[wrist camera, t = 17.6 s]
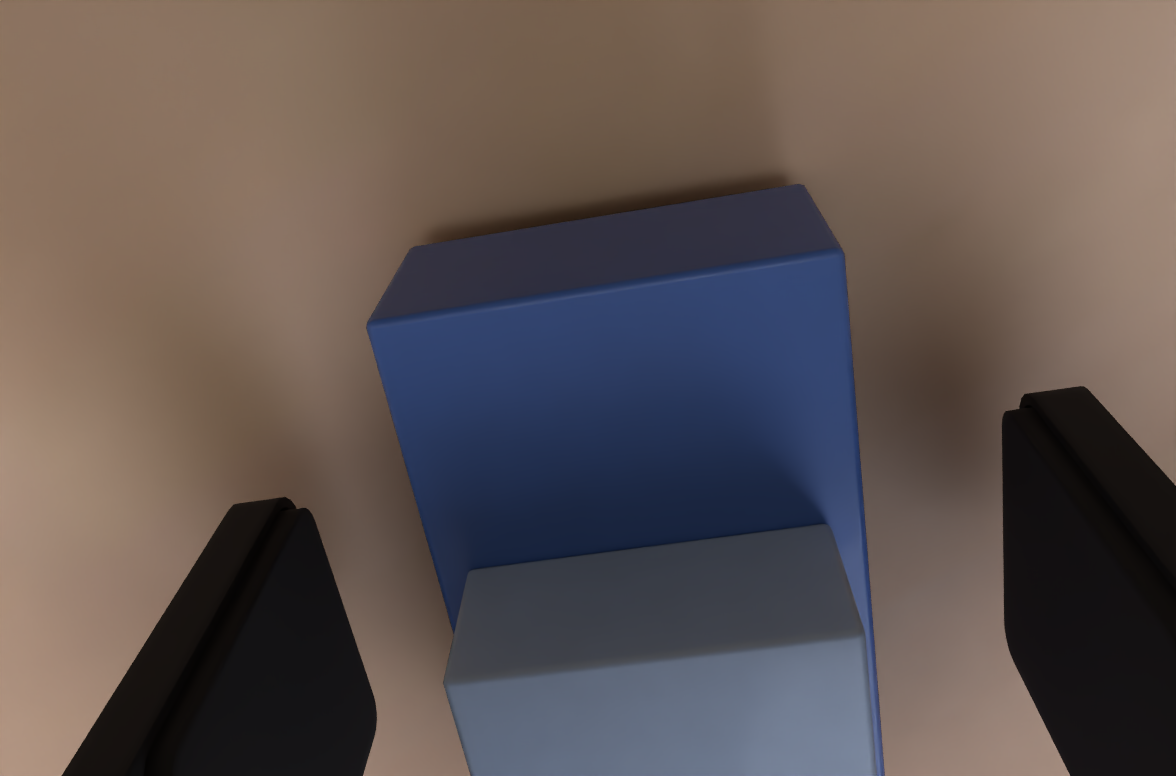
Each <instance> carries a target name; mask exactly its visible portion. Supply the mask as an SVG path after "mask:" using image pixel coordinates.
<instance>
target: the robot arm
mask: <svg viewBox="0 0 1176 776" xmlns="http://www.w3.org/2000/svg"><path fill="white" fill-rule="evenodd" d="M1002 471H1003V557H1004V625H1005V633H1006V639H1007V643H1008V647H1009V651H1010V654H1011V656H1012V659H1013V661H1014V663H1015V665H1016V667H1017V669H1018V671H1019V673H1020V675H1021V677H1022V679H1023V681H1024V683H1025V685H1026V687H1027V689H1028V691H1029V693H1030V695H1031V697H1032V699H1033V701H1034V703H1035V706H1036V708H1037V710H1038V712H1039V714H1040V716H1041V718H1042V720H1043V722H1044V724H1045V726H1046V728H1047V730H1048V732H1049V734H1050V736H1051V738H1052V740H1053V742H1054V744H1055V746H1056V748H1057V750H1058V752H1059V754H1060V756H1061V758H1062V760H1063V762H1064V764H1065V766H1066V768H1067V770H1068V772H1069V774H1070V776H1176V486H1175V485H1174V483H1173V482H1172V481H1171V480H1170V479H1169V478H1168V477H1167V476H1166V475H1165V474H1164V472H1163V471H1162V470H1161V469H1160V468H1159V467H1158V466H1157V465H1156V464H1155V462H1154V461H1153V460H1152V459H1151V458H1150V457H1149V456H1148V455H1147V454H1146V453H1145V451H1144V450H1143V449H1142V448H1141V447H1140V446H1139V445H1138V444H1137V443H1136V442H1135V440H1134V439H1133V438H1132V437H1131V436H1130V435H1129V434H1128V433H1127V432H1126V431H1125V429H1124V428H1123V427H1122V426H1121V425H1120V424H1119V423H1118V422H1117V421H1116V420H1115V418H1114V417H1113V416H1112V415H1111V414H1110V413H1109V412H1108V411H1107V410H1106V409H1105V407H1104V406H1103V405H1102V404H1101V403H1100V402H1099V401H1098V400H1097V399H1096V398H1095V396H1094V395H1093V394H1092V393H1091V392H1090V391H1089V390H1088V389H1087V388H1085V387H1084V386H1080V387H1072V388H1065V389H1058V390H1051V391H1043V392H1036V393H1029V394H1024V395H1023V397H1022V398H1021V402H1020V406H1019V409H1016V410H1009V411H1005V413H1004V415H1003V419H1002ZM376 724H377V711H376V703H375V699H374V695H373V692H372V689H371V686H370V683H369V680H368V677H367V674H366V671H365V668H364V665H363V662H362V659H361V656H360V653H359V651H358V648H357V645H356V642H355V639H354V636H353V633H352V630H351V627H350V624H349V621H348V618H347V615H346V612H345V609H344V606H343V603H342V600H341V597H340V594H339V591H338V588H337V585H336V582H335V579H334V576H333V573H332V570H331V567H330V564H329V561H328V558H327V555H326V552H325V549H324V546H323V543H322V540H321V537H320V534H319V531H318V528H317V526H316V523H315V520H314V518H313V515H312V513H311V512H310V511H309V510H308V509H307V508H299V509H296V507H295V505H294V504H293V502H292V501H291V500H290V499H288V498H286V497H283V498H275V499H268V500H261V501H254V502H247V503H239V504H234V505H233V506H232V507H231V508H230V509H229V510H228V512H227V514H226V515H225V517H224V518H223V520H222V521H221V523H220V525H219V526H218V528H217V529H216V531H215V533H214V534H213V536H212V537H211V539H210V541H209V542H208V544H207V545H206V547H205V549H204V550H203V552H202V553H201V555H200V556H199V558H198V560H197V561H196V563H195V564H194V566H193V568H192V569H191V571H190V572H189V574H188V576H187V577H186V579H185V580H184V582H183V584H182V585H181V587H180V588H179V590H178V592H177V593H176V595H175V596H174V598H173V599H172V601H171V603H170V604H169V606H168V607H167V609H166V611H165V612H164V614H163V615H162V617H161V619H160V620H159V622H158V623H157V625H156V627H155V628H154V630H153V631H152V633H151V634H150V636H149V638H148V639H147V641H146V642H145V644H144V646H143V647H142V649H141V650H140V652H139V654H138V655H137V657H136V658H135V660H134V662H133V663H132V665H131V666H130V668H129V670H128V671H127V673H126V674H125V676H124V677H123V679H122V681H121V682H120V684H119V685H118V687H117V689H116V690H115V692H114V693H113V695H112V697H111V698H110V700H109V701H108V703H107V705H106V706H105V708H104V709H103V711H102V712H101V714H100V716H99V717H98V719H97V720H96V722H95V724H94V725H93V727H92V728H91V730H90V732H89V733H88V735H87V736H86V738H85V740H84V741H83V743H82V744H81V746H80V747H79V749H78V751H77V752H76V754H75V755H74V757H73V759H72V760H71V762H70V763H69V765H68V767H67V768H66V770H65V771H64V773H63V775H62V776H363V773H364V770H365V767H366V763H367V760H368V756H369V753H370V749H371V746H372V743H373V739H374V736H375V731H376Z"/></svg>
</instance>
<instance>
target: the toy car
mask: <svg viewBox="0 0 1176 776" xmlns="http://www.w3.org/2000/svg"><path fill="white" fill-rule="evenodd" d="M366 328H367V332H368V335H369V339H370V342H371V346H372V349H373V353H374V356H375V360H376V363H377V367H378V370H379V374H380V377H381V381H382V384H383V388H384V391H385V395H386V398H387V402H388V405H389V409H390V412H391V416H392V419H393V423H394V426H395V430H396V433H397V437H398V440H399V444H400V448H401V451H402V455H403V458H404V462H405V465H406V469H407V472H408V476H409V479H410V483H411V486H412V490H413V493H414V497H415V500H416V504H417V507H418V511H419V514H420V518H421V521H422V525H423V528H424V532H425V535H426V539H427V542H428V546H429V549H430V553H431V556H432V560H433V563H434V567H435V570H436V574H437V577H438V581H439V584H440V588H441V591H442V595H443V598H444V602H445V605H446V609H447V612H448V616H449V619H450V623H451V626H452V630H453V633H454V637H453V641H452V645H451V650H450V654H449V659H448V663H447V667H446V672H445V676H444V681H443V684H444V688H445V691H446V694H447V698H448V701H449V704H450V708H451V711H452V714H453V718H454V721H455V725H456V728H457V731H458V735H459V738H460V741H461V745H462V748H463V751H464V755H465V758H466V761H467V765H468V768H469V772H470V775H471V776H885V772H884V759H883V746H882V733H881V720H880V707H879V694H878V681H877V668H876V655H875V642H874V630H873V617H872V604H871V591H870V578H869V565H868V552H867V539H866V526H865V513H864V500H863V487H862V474H861V461H860V448H859V435H858V422H857V409H856V396H855V383H854V370H853V357H852V344H851V331H850V318H849V305H848V292H847V279H846V266H845V254H844V252H843V250H842V248H841V246H840V245H839V243H838V241H837V240H836V238H835V236H834V235H833V233H832V231H831V230H830V228H829V226H828V225H827V223H826V221H825V219H824V218H823V216H822V214H821V213H820V211H819V209H818V208H817V206H816V204H815V203H814V201H813V199H812V198H811V196H810V194H809V193H808V191H807V189H806V187H805V186H804V185H801V184H795V185H789V186H783V187H777V188H771V189H765V190H759V191H752V192H746V193H740V194H734V195H728V196H722V197H716V198H709V199H703V200H697V201H691V202H685V203H679V204H673V205H666V206H660V207H654V208H648V209H642V210H636V211H630V212H623V213H617V214H611V215H605V216H599V217H593V218H587V219H580V220H574V221H568V222H562V223H556V224H550V225H544V226H537V227H531V228H525V229H519V230H513V231H507V232H501V233H494V234H488V235H482V236H476V237H470V238H464V239H458V240H451V241H445V242H439V243H433V244H427V245H421V246H415V247H413V248H411V249H410V250H409V251H408V253H407V255H406V256H405V258H404V260H403V262H402V263H401V265H400V267H399V268H398V270H397V272H396V274H395V275H394V277H393V279H392V280H391V282H390V284H389V286H388V287H387V289H386V291H385V292H384V294H383V296H382V298H381V299H380V301H379V303H378V304H377V306H376V308H375V310H374V311H373V313H372V315H371V316H370V318H369V320H368V322H367V327H366Z"/></svg>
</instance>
